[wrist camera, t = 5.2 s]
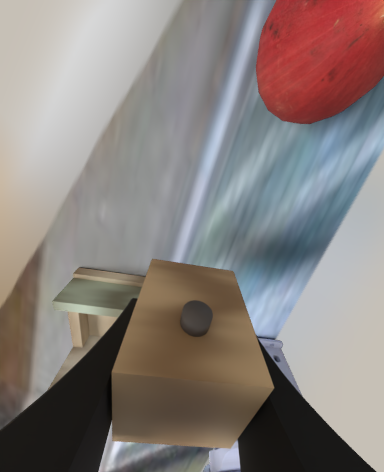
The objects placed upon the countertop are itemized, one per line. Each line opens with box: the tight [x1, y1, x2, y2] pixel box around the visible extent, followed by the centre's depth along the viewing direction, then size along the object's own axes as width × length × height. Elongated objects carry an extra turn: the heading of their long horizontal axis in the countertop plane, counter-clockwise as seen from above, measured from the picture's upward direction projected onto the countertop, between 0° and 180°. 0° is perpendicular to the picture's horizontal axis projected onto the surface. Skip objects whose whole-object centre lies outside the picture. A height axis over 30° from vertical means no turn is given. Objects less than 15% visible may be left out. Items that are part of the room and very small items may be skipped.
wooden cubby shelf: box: [47, 268, 145, 391], centre depth 18 cm, size 11×10×7 cm
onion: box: [256, 0, 384, 124], centre depth 8 cm, size 6×6×8 cm
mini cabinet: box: [112, 259, 274, 449], centre depth 9 cm, size 5×6×6 cm
